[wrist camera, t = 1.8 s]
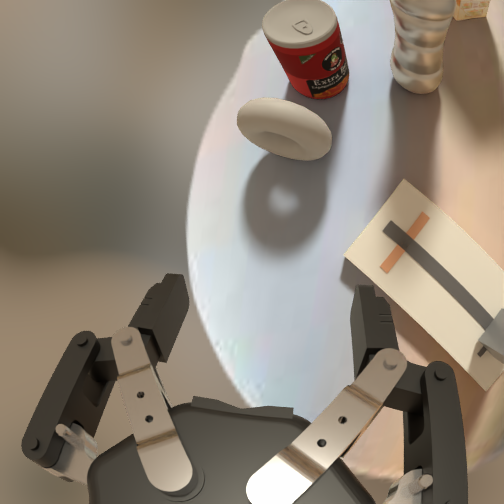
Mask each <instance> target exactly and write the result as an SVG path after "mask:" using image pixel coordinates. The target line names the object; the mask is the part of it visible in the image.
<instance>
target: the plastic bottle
mask: <svg viewBox="0 0 504 504" xmlns="http://www.w3.org/2000/svg"><path fill="white" fill-rule="evenodd" d="M390 3H391V7H392V11H393V15H394V23H395V41H394V47H393V50H392V54H391V59H390V66H391V70H392V73H393V76H394V78H395V80H396V81H397V82H398V83H399V84H400V85H401V86H402V87H403V88H405V89H406V90H408V91H410V92H413V93H417V94H426V93H430V92H432V91H434V90H435V89H436V88H437V87H438V85H439V84H440V82H441V80H442V77H443V62H442V58H443V46H444V42H445V38H446V34H447V30H448V28H449V25H450V23H451V20H452V18H453V15H454V12H455V9H456V5H457V4H456V0H390Z"/></svg>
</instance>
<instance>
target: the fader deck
mask: <svg viewBox="0 0 504 504" xmlns="http://www.w3.org/2000/svg"><path fill="white" fill-rule="evenodd" d="M344 256H345V257H346V258H347V259H348V260H350V261H351V262H352V263H353V264H354V265H355V266H356V267H358V268H359V269H360V270H361V271H362V272H363V273H364V274H365V275H367V276H368V277H369V278H370V279H371V280H372V281H373V282H374V283H375V284H377V285H378V286H379V287H380V288H381V289H382V290H383V291H384V292H385V293H386V294H388V295H389V296H390V297H391V298H392V299H393V300H394V301H395V302H396V303H397V304H398V305H399V306H400V307H402V308H403V309H404V310H405V311H406V312H407V313H408V314H409V315H410V316H411V317H412V318H413V319H414V320H415V321H416V322H417V323H418V324H419V325H420V326H422V327H423V328H424V329H425V330H426V331H427V332H428V333H429V334H430V335H431V336H432V337H433V338H434V339H435V340H436V341H437V342H438V343H439V344H440V345H441V346H442V347H443V348H444V349H445V350H446V351H447V352H448V353H449V354H450V355H451V356H452V357H453V358H454V359H455V360H456V361H457V362H458V363H459V364H460V365H461V366H462V367H463V368H464V369H465V370H466V371H467V372H468V373H469V375H470V376H471V377H472V378H473V379H474V380H475V381H476V382H477V383H478V384H479V385H480V386H481V387H482V388H483V389H484V390H485V391H487V390H488V389H489V388H490V387H491V385H492V384H493V383H494V382H495V381H496V380H497V378H498V377H499V376H500V375H501V374H502V372H503V371H504V364H503V363H501V362H500V361H498V360H497V359H496V358H494V357H493V356H492V355H491V354H490V352H489V351H488V350H487V349H486V348H485V347H484V346H483V345H482V344H481V343H480V342H479V340H478V339H479V338H480V337H481V335H482V334H483V333H484V332H485V330H486V329H487V328H488V326H489V325H490V324H491V322H492V321H493V320H494V318H495V317H496V315H497V314H498V313H499V311H500V310H501V308H503V309H504V271H503V270H502V269H501V268H500V266H499V265H498V264H497V263H496V262H495V261H494V260H493V259H492V258H491V257H490V256H489V255H488V254H487V253H486V252H485V251H484V250H483V249H482V248H481V247H480V246H479V245H478V244H477V243H476V242H475V241H474V240H473V239H472V238H471V237H470V236H469V235H468V234H467V233H466V232H465V231H464V230H463V229H462V228H461V227H460V226H459V225H458V224H456V223H455V222H454V221H453V220H452V219H451V218H450V217H449V216H448V215H447V214H445V213H444V212H443V211H442V210H441V209H440V208H439V207H438V206H436V205H435V204H434V203H433V202H432V201H431V200H429V199H428V198H427V197H426V196H425V195H423V194H422V193H421V192H420V191H419V190H417V189H416V188H415V187H414V186H412V185H411V184H410V183H409V182H407V181H406V180H405V179H403V180H402V181H401V183H400V184H399V185H398V187H397V188H396V189H395V191H394V192H393V193H392V195H391V196H390V197H389V199H388V200H387V201H386V202H385V204H384V205H383V206H382V208H381V209H380V210H379V211H378V213H377V214H376V215H375V217H374V218H373V219H372V220H371V222H370V223H369V224H368V225H367V227H366V228H365V229H364V230H363V232H362V233H361V234H360V235H359V237H358V238H357V239H356V240H355V241H354V243H353V244H352V245H351V246H350V248H349V249H348V250H347V251H346V252H345V254H344Z"/></svg>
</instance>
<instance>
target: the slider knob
mask: <svg viewBox="0 0 504 504" xmlns="http://www.w3.org/2000/svg"><path fill="white" fill-rule="evenodd" d="M478 340H479V342H480V343H481V344H482V345H483V346H484V347H485V348H486V349H487V350H488V351H489V352H490V354H491V355H492V356H493V357H494V358H496V359H497V360H498V361H500V362H501V363H503V364H504V309H503V308H501V310H500V311H499V313H498V314H497V315H496V317H495V318H494V320H493V321H492V322H491V324H490V325H489V326H488V328H487V329H486V330H485V332H484V333H483V334H482V335H481V337H480V338H479V339H478Z"/></svg>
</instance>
